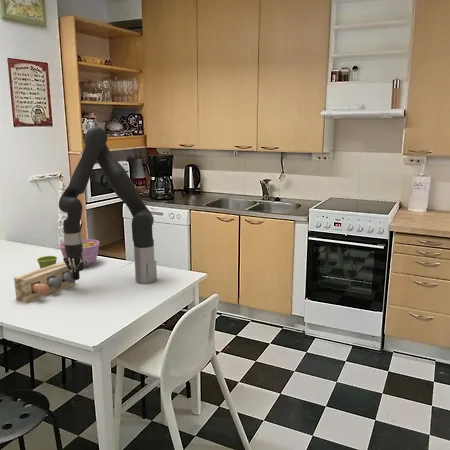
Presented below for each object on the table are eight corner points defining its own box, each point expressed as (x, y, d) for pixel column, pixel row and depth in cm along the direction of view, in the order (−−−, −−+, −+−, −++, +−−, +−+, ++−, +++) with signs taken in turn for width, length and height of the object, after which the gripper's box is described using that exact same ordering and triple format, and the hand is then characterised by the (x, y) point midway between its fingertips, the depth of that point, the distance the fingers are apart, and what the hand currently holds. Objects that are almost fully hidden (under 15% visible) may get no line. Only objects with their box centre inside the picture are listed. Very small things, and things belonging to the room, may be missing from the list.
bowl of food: (59, 261, 248) (58, 240, 245) (98, 257, 256) (96, 237, 253) (62, 272, 230) (60, 250, 227) (103, 267, 238) (102, 246, 235)
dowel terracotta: (49, 293, 196) (48, 282, 195) (40, 296, 192) (38, 286, 190) (32, 288, 201) (31, 278, 200) (23, 292, 197) (21, 281, 196)
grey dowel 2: (76, 281, 210) (75, 271, 209) (68, 284, 206) (67, 274, 205) (60, 277, 215) (59, 267, 214) (51, 280, 211) (50, 270, 210)
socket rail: (75, 284, 214) (73, 263, 212) (27, 303, 193) (24, 280, 190) (65, 281, 218) (63, 261, 216) (16, 299, 196) (13, 277, 194)
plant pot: (34, 277, 224) (32, 260, 222) (48, 271, 232) (46, 254, 231) (49, 279, 221) (47, 262, 219) (62, 273, 229) (61, 256, 227)
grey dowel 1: (62, 286, 203) (61, 276, 202) (53, 290, 199) (52, 279, 198) (45, 282, 208) (44, 272, 207) (36, 285, 204) (35, 275, 203)
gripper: (90, 242, 202) (93, 279, 206) (69, 238, 209) (72, 274, 213) (77, 246, 196) (80, 284, 200) (56, 242, 202) (59, 279, 206)
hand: (76, 279), depth 206 cm, fingers closed
